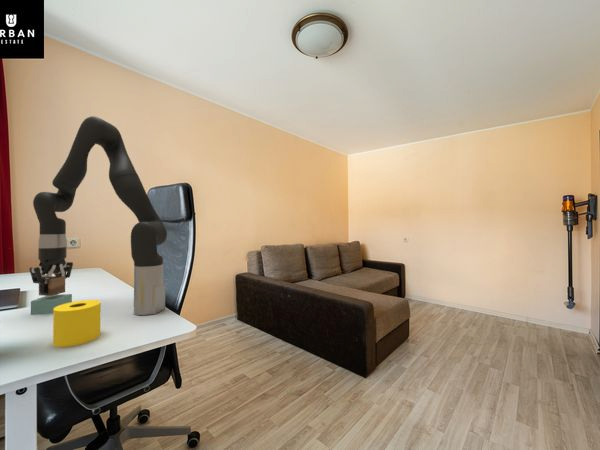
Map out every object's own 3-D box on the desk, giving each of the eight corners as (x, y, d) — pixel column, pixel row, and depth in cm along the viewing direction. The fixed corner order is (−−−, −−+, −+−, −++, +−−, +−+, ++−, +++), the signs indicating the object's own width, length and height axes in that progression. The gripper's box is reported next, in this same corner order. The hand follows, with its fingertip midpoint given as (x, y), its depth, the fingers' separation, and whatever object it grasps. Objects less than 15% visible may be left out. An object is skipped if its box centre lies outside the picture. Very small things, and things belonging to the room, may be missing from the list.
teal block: (71, 306, 100) (71, 294, 100) (57, 313, 92) (57, 299, 92) (47, 308, 98) (47, 295, 98) (30, 315, 90) (30, 301, 90)
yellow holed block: (45, 350, 65) (45, 313, 65) (63, 334, 74) (63, 302, 74) (93, 343, 69) (93, 308, 69) (104, 329, 78) (105, 298, 78)
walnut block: (65, 292, 97) (65, 276, 97) (51, 295, 92) (51, 279, 92) (52, 291, 97) (53, 276, 97) (38, 295, 92) (38, 278, 92)
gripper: (41, 248, 87) (41, 297, 87) (80, 245, 102) (79, 287, 102) (21, 248, 88) (20, 297, 88) (62, 244, 102) (62, 287, 102)
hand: (52, 291), depth 95 cm, fingers closed on walnut block, 5 cm apart
